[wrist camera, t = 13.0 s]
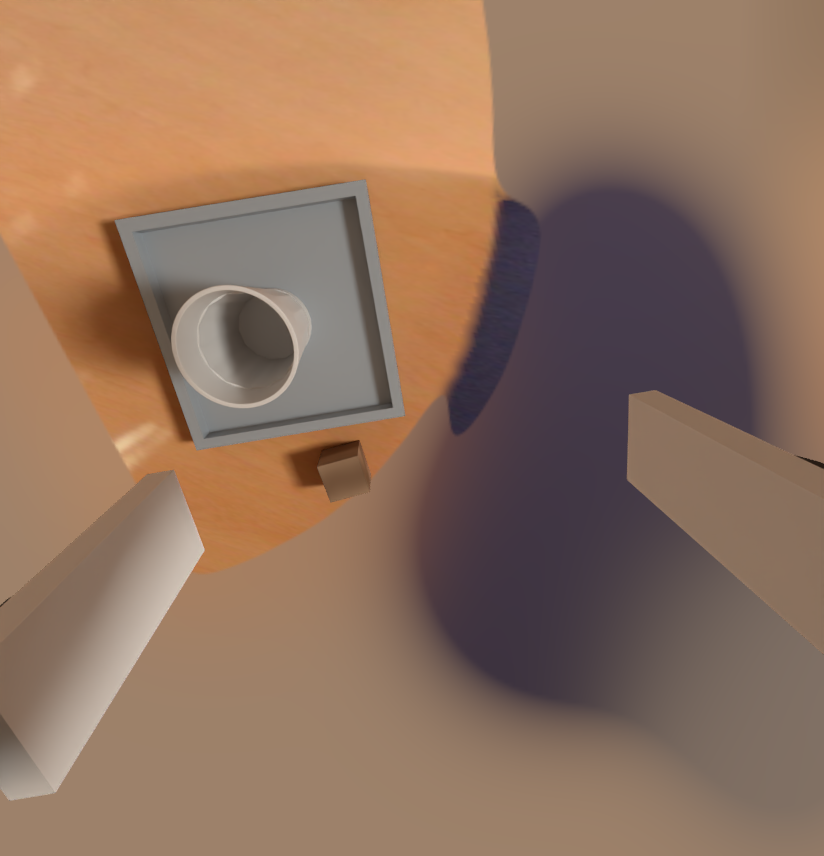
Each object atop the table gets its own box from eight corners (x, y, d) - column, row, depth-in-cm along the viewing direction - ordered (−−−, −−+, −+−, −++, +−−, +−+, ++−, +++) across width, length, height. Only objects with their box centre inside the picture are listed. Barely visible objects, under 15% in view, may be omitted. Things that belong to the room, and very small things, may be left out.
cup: (236, 368, 41) (182, 408, 30) (224, 277, 38) (160, 284, 27) (323, 368, 42) (302, 407, 30) (318, 278, 39) (293, 285, 28)
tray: (131, 222, 37) (114, 220, 35) (366, 184, 37) (365, 179, 35) (206, 440, 44) (196, 450, 42) (404, 407, 44) (405, 415, 42)
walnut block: (322, 450, 46) (316, 466, 42) (359, 439, 45) (357, 455, 42) (334, 483, 47) (330, 502, 43) (370, 473, 47) (369, 491, 43)
